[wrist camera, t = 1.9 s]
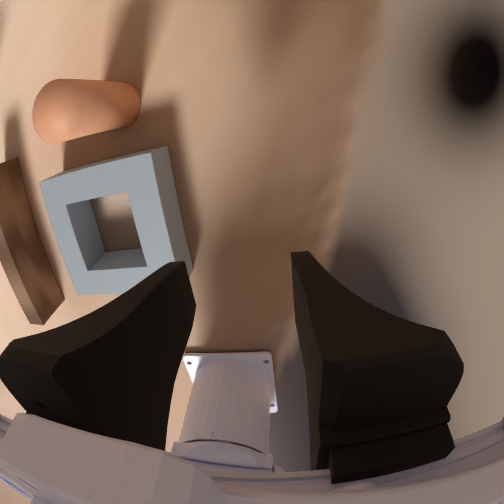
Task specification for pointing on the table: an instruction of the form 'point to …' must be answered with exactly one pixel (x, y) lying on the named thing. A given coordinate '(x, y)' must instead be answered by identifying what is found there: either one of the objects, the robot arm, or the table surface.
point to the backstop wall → (24, 249)
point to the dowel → (83, 108)
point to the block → (144, 212)
